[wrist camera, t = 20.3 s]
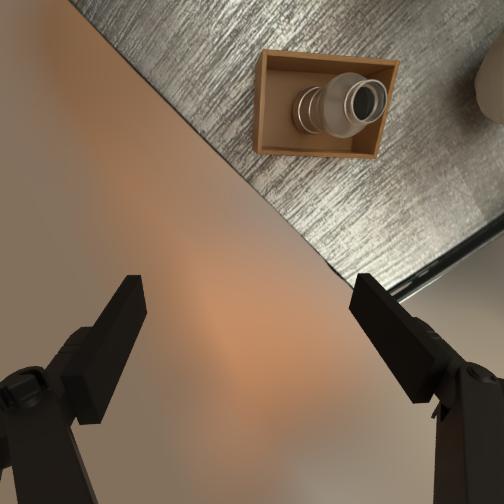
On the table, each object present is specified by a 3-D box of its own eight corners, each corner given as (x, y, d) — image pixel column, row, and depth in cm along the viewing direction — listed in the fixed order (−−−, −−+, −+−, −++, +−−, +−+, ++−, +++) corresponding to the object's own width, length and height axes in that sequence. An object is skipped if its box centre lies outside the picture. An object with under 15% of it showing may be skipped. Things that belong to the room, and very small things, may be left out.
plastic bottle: (322, 81, 41) (399, 46, 23) (331, 126, 44) (405, 125, 26) (284, 97, 41) (329, 75, 23) (295, 140, 44) (343, 150, 26)
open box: (251, 149, 45) (257, 154, 37) (255, 64, 39) (262, 48, 32) (351, 153, 46) (376, 159, 39) (368, 72, 41) (400, 60, 34)
